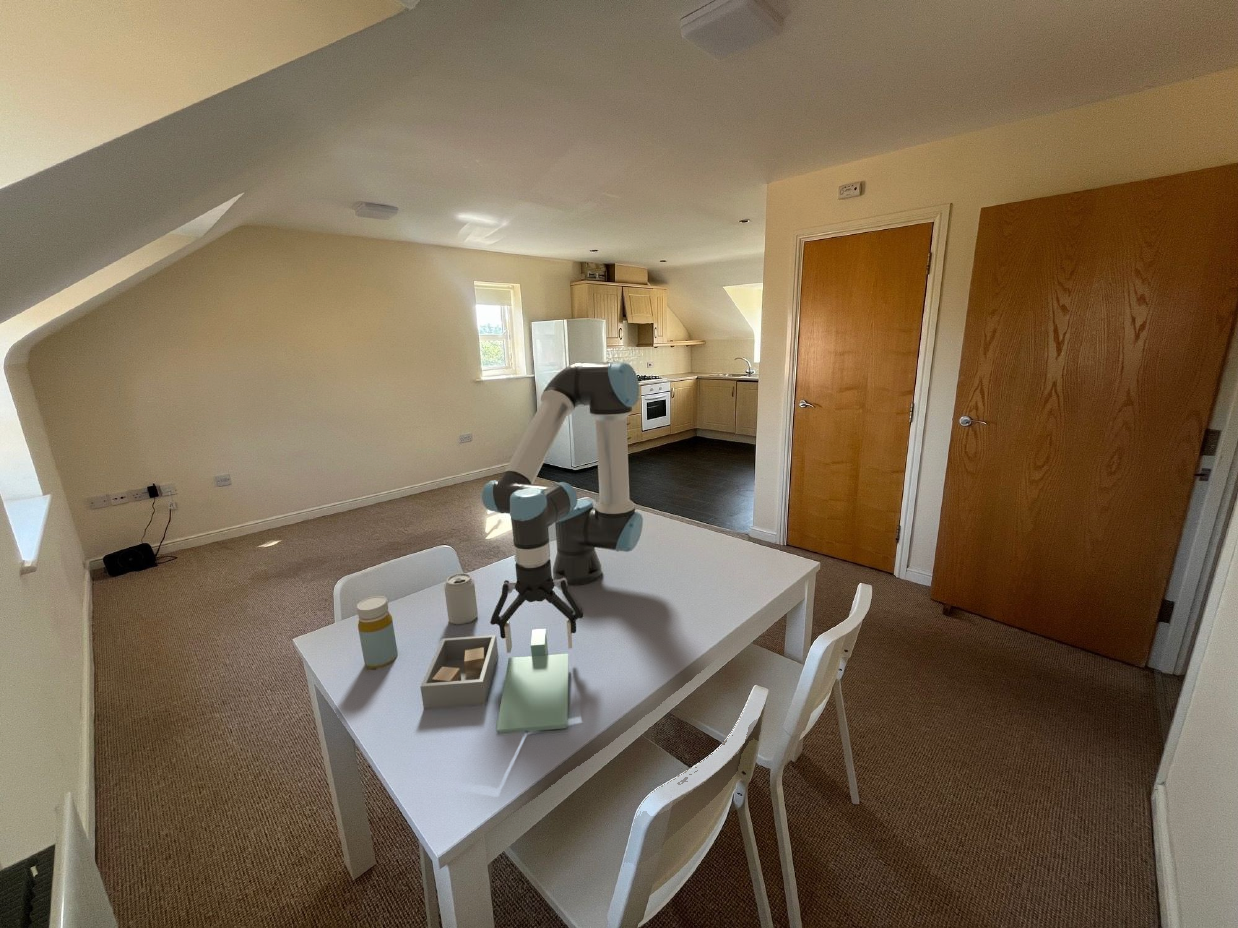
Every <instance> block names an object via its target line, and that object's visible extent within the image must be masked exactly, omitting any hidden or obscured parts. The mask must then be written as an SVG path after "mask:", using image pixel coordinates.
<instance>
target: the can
mask: <svg viewBox="0 0 1238 928" xmlns="http://www.w3.org/2000/svg"><path fill="white" fill-rule="evenodd" d="M443 588H444V595H445V596H444V597H445V603H446V610H447V611H446V612H447V619H448V622H450V623H451V624H454V625H455V626H462V625H469V624H470V623H471V622H473V621H474V620H476V618H477V616H478V614H479V613H478V611H479V610H478V604H477V594H476V586H475V580H474V579H473V578H472V576H471V574H470V573H467V572H459V573H455V574H452V575H450V576H449V577H447V578H446V580H445V584H444V587H443Z"/></svg>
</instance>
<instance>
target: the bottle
mask: <svg viewBox="0 0 1238 928" xmlns="http://www.w3.org/2000/svg"><path fill="white" fill-rule="evenodd" d="M356 612H357V616H358V623H357V628H358V635H359V640H360V646H361V651H362V652H361V653H362V657H363V658H362V659H363V663H364V666H365V667H366V668H368V669H370V670H374V671H375V670H376V669H378V668H382V667H386V666H387V665H390V664H392V663H393V662H394V661H395V660H396V659H397V658H398V656H399V655H398V645H397V640H396V635H395V628H394V622H393V616H392V615H391V613H390V610H389V603H388V598H386V596H382V595H377V596H376V595H375V596H370V597H367V598H364V599H363V600H361V601H359V603H357V605H356Z"/></svg>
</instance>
